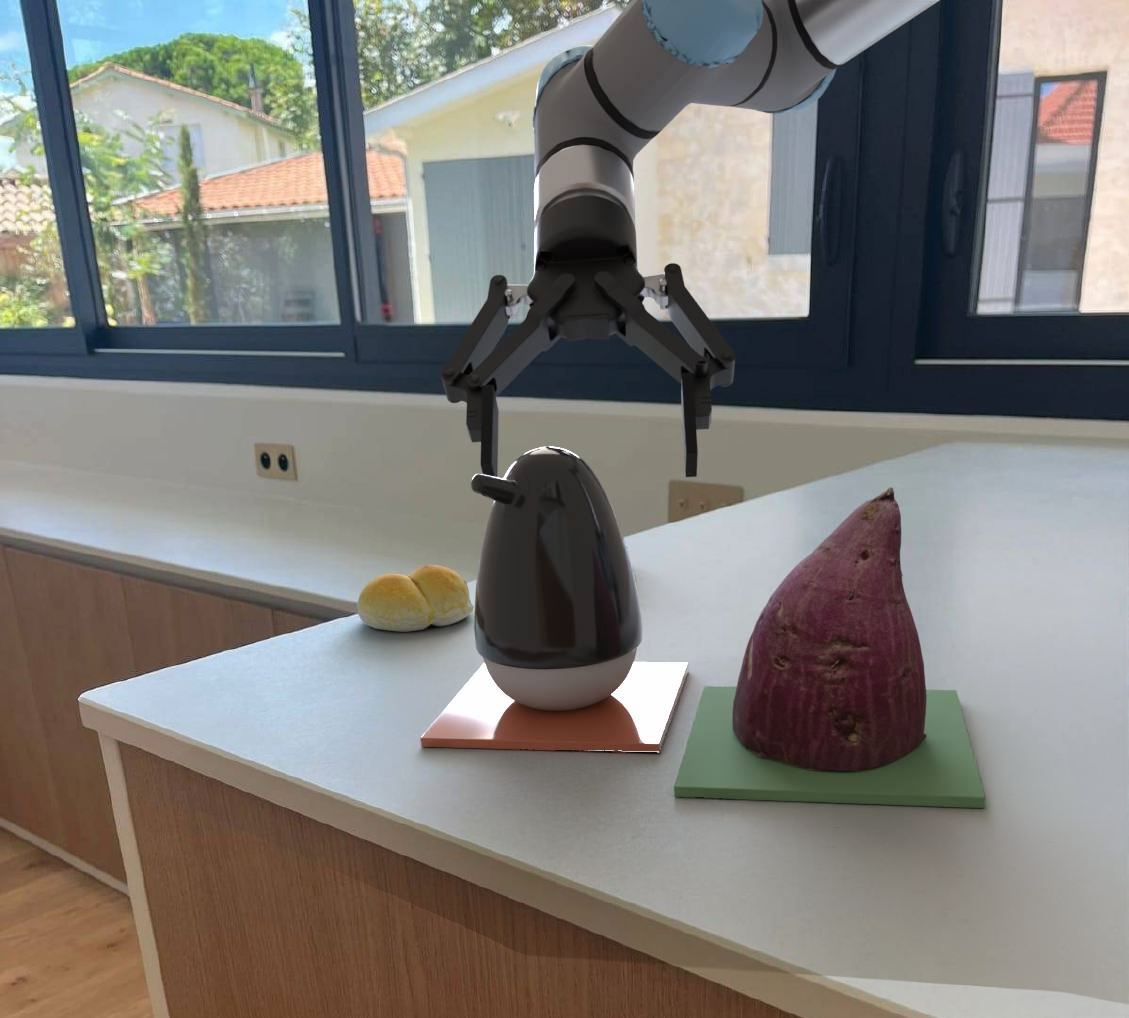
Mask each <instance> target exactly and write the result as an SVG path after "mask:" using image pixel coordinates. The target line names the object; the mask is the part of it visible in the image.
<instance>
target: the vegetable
mask: <svg viewBox="0 0 1129 1018" xmlns="http://www.w3.org/2000/svg"><path fill="white" fill-rule="evenodd" d="M900 510H901V509H900V505H899V503H898V502H897V500H896V498H895V491H894V487H889V488H887V489H886V490H885V491H883V492H881V493H880V494H878V495H877V496H875V497H874V498H871V499H869V500H866V501H864V502H861V504H860V505H859V506H857V508H855V509H854V510H853V511H852V512H851V513H850V514H849V515H848V516H847V517H846V518H845V519H844V520H843V521H842V522H841V523H840V524H839V525H838V526H837V527H836V528H835V529H834V530H833V531H832V532H831V533H830V534H829V535H828V536H827V537H826V538H824V540H822V542H821V543H820V544H819V545H818V546H817V547H816V548H815V549H814V550H812V552H811V553H810V554H808V555H807V556H806V557H804V558H803V559H802V560H800V562H799V563H798V564H796V565H795V566H794V567H793V569H792V570H791V571H790V572H789V573H788V574H787V575H786V576H785V578H784V579H783V580H782V581H781V583H779V585H778V586H777V588H776V589H775V590H774V591H773V593H772V594H771V596H770V597H769V599H768V601H767V602H766V605H765V606H764V607H763V609H762V611H761V612H760V614H759V615H758V618H757V620H756V622H755V625H754V628H753V630H752V632H751V635H750V637H749V639H748V641H747V644H746V648H745V651H744V655H743V658H742V662H741V667H740V671H739V674H738V679H737V684H736V687H737V688H736V693H735V697H734V701H733V715H732V725H733V731H734V733H735V735H736V737H737V738H738V739H739V740H740V742H741V744H743V745H744V746H745V747H746V748H748V749H749V750H751V751H753V752H755V753H757V754H759V757H762V758H769V759H772V760H776V761H779V762H782V763H787V764H789V765H793V766H797V767H802V768H806V769H810V770H821V771H836V772H842V771H846V772H850V771H863V770H868V769H872V768H876V767H879V766H883V765H886V764H888V763H890V762H893V761H894V760H897V759H899V758H901V757H902V756H904V755H906V754H908V753H910V752H912V751H914V750H915V749H917V748H918V747H919V746H920V745H921V742H922V741H923V740H924V739H925V738H926V737H927V736H926V734H925V733H924V728H925V716H926V700H927V696H926V690H927V686H926V674H925V664H924V657H923V652H922V646H921V642H920V636H919V633H918V629H917V626H916V623H915V619H914V617H913V613H912V610H911V607H910V604H909V602H908V599H907V595H906V592H905V588H904V582H903V577H904V574H903V572H902V567H901V565H902V564H901V549H902V548H901V547H902V516H901V511H900Z"/></svg>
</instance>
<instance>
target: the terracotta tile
mask: <svg viewBox="0 0 1129 1018" xmlns="http://www.w3.org/2000/svg"><path fill="white" fill-rule="evenodd" d="M689 668H690V667H689V663H688V662H659V661H657V662H655V661H654V662H647V661H634V663H633V666H632V668H631V671H630V672H629V674H628V676H627V678H626V679H625V681H624V682H623V684H622V685H621V686H620V687H619V688H618V689H617V690H616V691H615V692H614V693H613V694H611V695H610V696H608V697H607V698H605V699H603V700H602V701H600V702H597V703H595V704H593V705H590V706H587V707H584V708H579V709H574V710H565V711H548V710H540V709H535V708H531V707H528V706H525V705H523V704H520V703H518V702H516V701H514V700H512V699H511V698H509V697H508V696H507V695H505V694H504V693H503V692H502V691H501V690H500V689H499V688H498V687H497V685H496V684H495V683H494V681H493V680H492V678H491V677H490V675H489V673H488V671H487V668H486V666H485V663H484V662H483V663H482V664H481V665H480V667H479V668H478V669H477V670H476V671H475V673H474V674H473V675H472V676H471V677H470V678H469V680H468V681H467V682H466V683H465V685H463V687H462V688H461V689H460V690H459V692H458V693H457V694H456V695H455V696H454V698H453V699H451V700H450V702H449V704H447V706H446V707H445V708H444V709H443V711H441V713H440V714H439V715H438V716H437V717H436V718H435V720H433V722H432V723H431V724H430V726H429V727H428V728H427V729H426V730H425V732H424V733H423V734H422V735H421V736H420V739H419V740H420V745H421V747H423V748H449V749H450V748H452V749H453V748H455V749H486V750H487V749H491V750H492V749H493V750H520V749H522V750H524V749H528V750H527V751H555V750H572V751H571V752H574V751H573V750H579V751H578V752H582V751H581V750H587V751H586V752H589V751H588V750H604V751H605V750H614V751H618V750H622V751H660V748H661V746H662V747H663V745H662V743H663V744H664V742H663V740H664V741H665V739H664V737H665V738H666V736H665V734H666V732H667V733H668V731H667V730H669V728H670V725H671V722H670V720H671V721H672V719H673V717H674V714H673V713H675V711H674V710H676V708H675V706H676V707H677V705H678V702H677V700H678V701H679V699H680V696H681V693H682V691H681V690H683V688H682V687H684V685H685V681H686V679H687V676H688V673H689V670H690V669H689ZM683 684H684V685H683ZM676 704H677V705H676ZM671 718H672V719H671ZM669 724H670V725H669ZM668 727H669V728H668ZM666 735H667V734H666ZM533 749H534V750H533ZM661 749H662V748H661ZM660 752H661V751H660Z"/></svg>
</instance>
